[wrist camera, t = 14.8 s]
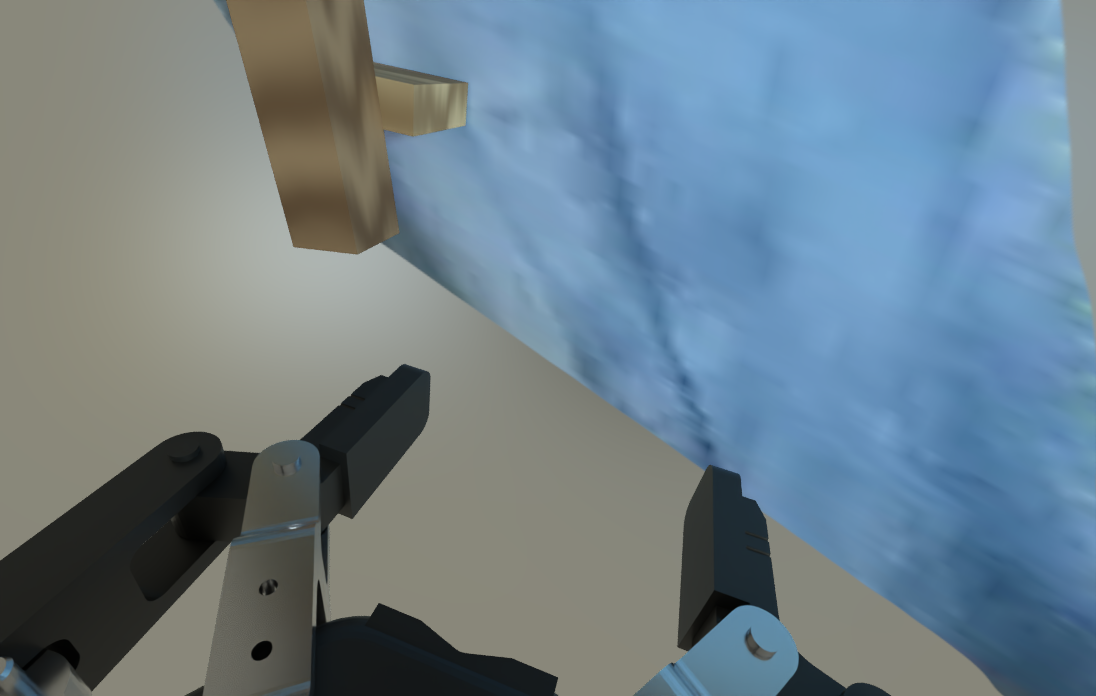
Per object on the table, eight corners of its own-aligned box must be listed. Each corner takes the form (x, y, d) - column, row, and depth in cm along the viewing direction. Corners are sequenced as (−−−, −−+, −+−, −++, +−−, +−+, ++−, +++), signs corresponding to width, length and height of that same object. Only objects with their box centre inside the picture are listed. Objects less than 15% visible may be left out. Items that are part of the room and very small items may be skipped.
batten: (273, -87, 27) (194, -117, 23) (349, -94, 26) (279, -126, 22) (341, 227, 36) (293, 246, 32) (399, 232, 35) (357, 254, 31)
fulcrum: (352, 57, 37) (275, 53, 31) (468, 82, 36) (413, 85, 29) (354, 99, 39) (282, 104, 32) (465, 125, 38) (413, 136, 31)
